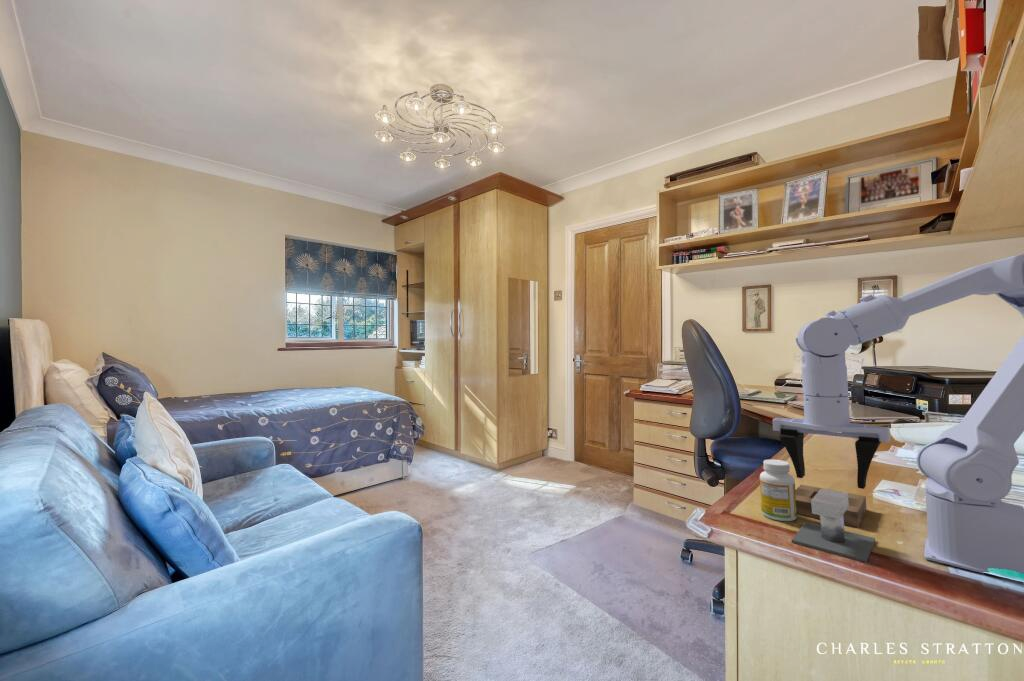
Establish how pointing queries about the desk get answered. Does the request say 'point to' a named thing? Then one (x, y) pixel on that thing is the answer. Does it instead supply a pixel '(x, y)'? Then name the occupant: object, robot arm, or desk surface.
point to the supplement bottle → (778, 491)
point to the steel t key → (831, 513)
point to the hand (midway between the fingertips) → (830, 481)
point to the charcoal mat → (851, 548)
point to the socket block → (856, 502)
